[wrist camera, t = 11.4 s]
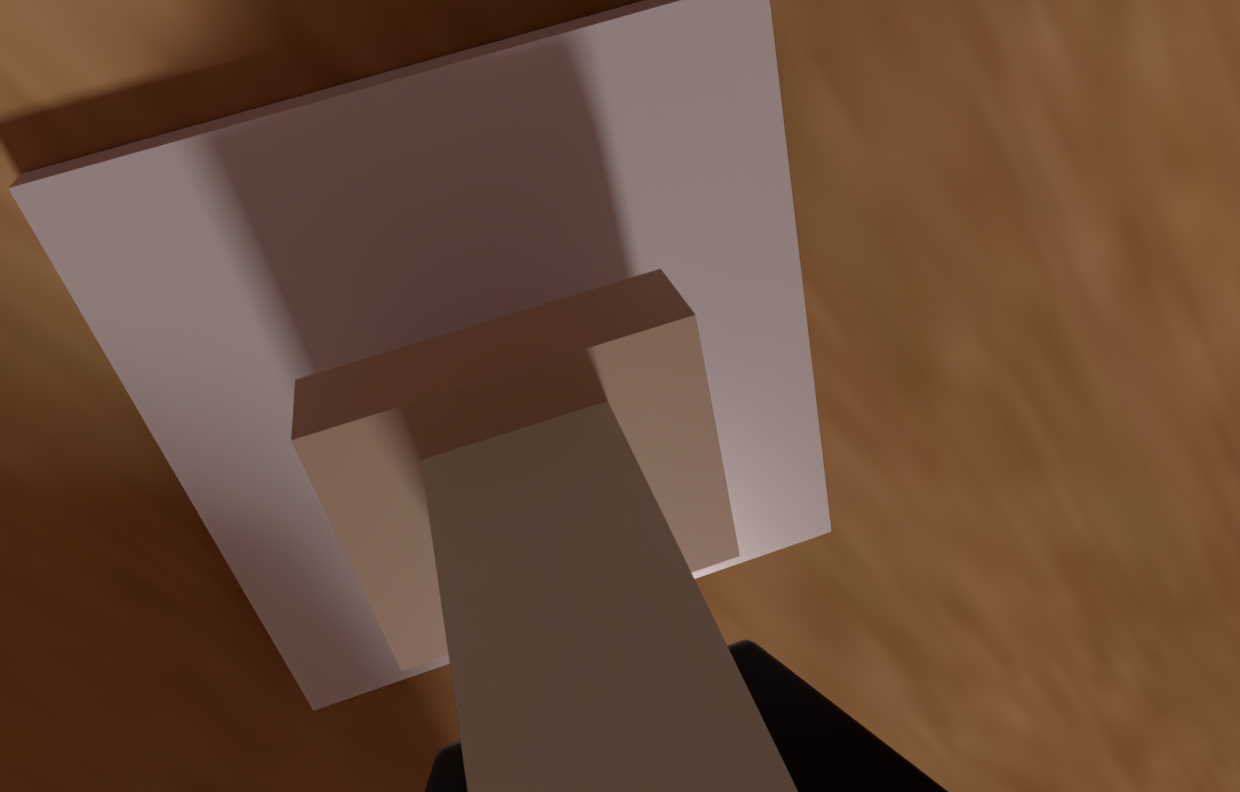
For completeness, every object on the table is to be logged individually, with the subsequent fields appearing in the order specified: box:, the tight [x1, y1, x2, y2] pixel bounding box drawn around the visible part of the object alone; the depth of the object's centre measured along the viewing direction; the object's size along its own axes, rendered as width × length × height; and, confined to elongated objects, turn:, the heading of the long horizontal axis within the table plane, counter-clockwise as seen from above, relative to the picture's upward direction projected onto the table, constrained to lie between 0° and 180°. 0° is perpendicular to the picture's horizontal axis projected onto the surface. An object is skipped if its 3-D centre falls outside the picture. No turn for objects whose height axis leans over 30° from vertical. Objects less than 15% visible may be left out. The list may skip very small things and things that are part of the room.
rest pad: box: [8, 0, 831, 711], centre depth 15 cm, size 10×10×1 cm
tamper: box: [291, 269, 798, 792], centre depth 9 cm, size 4×5×10 cm
